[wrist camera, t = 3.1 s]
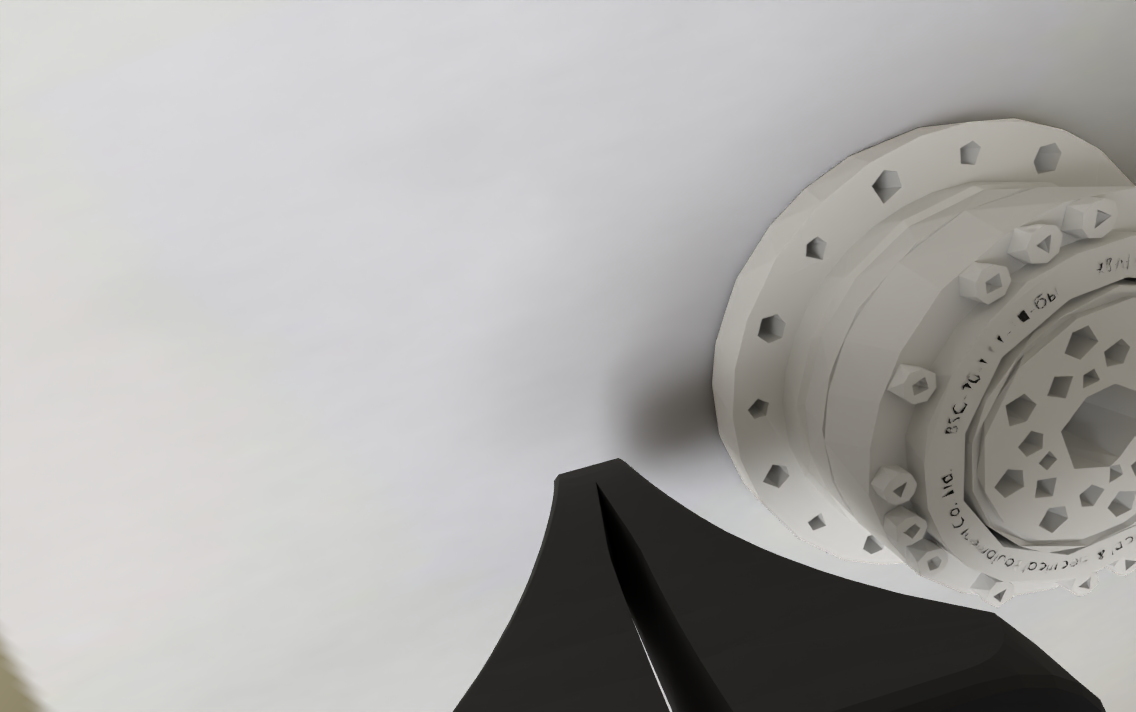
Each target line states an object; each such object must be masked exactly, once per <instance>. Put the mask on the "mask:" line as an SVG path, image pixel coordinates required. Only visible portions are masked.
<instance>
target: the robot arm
mask: <svg viewBox="0 0 1136 712" xmlns="http://www.w3.org/2000/svg"><path fill="white" fill-rule="evenodd" d="M633 621H634V622H633ZM634 623H635V624H634ZM635 626H636V627H635ZM636 628H637V630H638V632H637V630H636ZM638 633H639V635H640V637H641V640H642V642H643V644H644V647H645V649H646V651H647V653H648V656H649V658H650V660H651V663H652V665H653V667H654V670H655V672H656V674H657V676H658V679H659V681H660V683H661V686H662V688H663V690H664V693H665V695H666V697H667V700H668V702H669V704H670V706H671V709H672V712H1106V711H1105V709H1104V707H1103V705H1102V703H1101V700H1100V699H1099V698H1098V697H1096V696H1095V695H1094V694H1093V693H1092V692H1090V691H1089V690H1088V689H1087V688H1086V687H1084V686H1083V685H1082V684H1081V683H1080V682H1078V681H1077V680H1076V679H1075V678H1074V677H1073V676H1071V675H1070V674H1069V673H1068V672H1067V671H1066V670H1065V669H1063V668H1062V667H1061V666H1060V665H1059V664H1058V663H1057V662H1055V661H1054V660H1053V659H1052V658H1051V657H1050V656H1049V655H1047V654H1046V653H1045V652H1044V651H1043V650H1042V649H1040V648H1039V647H1038V646H1037V645H1036V644H1034V643H1033V642H1032V641H1031V640H1029V639H1028V638H1027V637H1025V636H1024V635H1023V634H1021V633H1020V632H1019V631H1017V630H1016V629H1015V628H1013V627H1012V626H1011V625H1009V624H1008V623H1007V622H1005V621H1004V620H1003V619H1001V618H1000V617H999V616H997V615H996V614H995V613H992V612H987V611H982V610H977V609H972V608H967V607H963V606H958V605H953V604H948V603H943V602H938V601H933V600H928V599H923V598H919V597H914V596H909V595H904V594H900V593H896V592H892V591H889V590H885V589H881V588H878V587H874V586H870V585H867V584H863V583H859V582H856V581H852V580H849V579H845V578H842V577H839V576H836V575H833V574H829V573H826V572H823V571H820V570H817V569H814V568H812V567H809V566H806V565H803V564H801V563H798V562H795V561H792V560H790V559H787V558H784V557H782V556H779V555H777V554H774V553H772V552H769V551H767V550H765V549H762V548H760V547H758V546H756V545H754V544H751V543H749V542H747V541H745V540H743V539H741V538H739V537H736V536H734V535H732V534H730V533H728V532H726V531H724V530H722V529H721V528H719V527H717V526H715V525H714V524H712V523H710V522H708V521H707V520H705V519H703V518H702V517H700V516H698V515H697V514H695V513H693V512H692V511H690V510H689V509H687V508H686V507H684V506H683V505H681V504H680V503H678V502H677V501H675V500H674V499H672V498H671V497H669V496H668V495H667V494H665V493H664V492H662V491H661V490H659V489H658V488H657V487H655V486H654V485H653V484H651V483H650V482H649V481H648V480H646V479H645V478H644V477H642V476H641V475H640V474H639V473H638V472H636V471H635V470H634V469H633V468H632V467H630V466H629V465H628V464H627V463H626V462H624V461H623V460H621V459H619V458H617V459H614V460H610V461H606V462H603V463H599V464H595V465H592V466H588V467H585V468H581V469H577V470H574V471H570V472H566V473H563V474H559V475H558V476H557V478H556V479H555V481H554V496H553V502H552V507H551V512H550V516H549V520H548V524H547V528H546V531H545V535H544V538H543V542H542V545H541V548H540V551H539V554H538V556H537V559H536V562H535V565H534V567H533V570H532V573H531V576H530V578H529V581H528V583H527V585H526V588H525V590H524V592H523V595H522V597H521V599H520V601H519V603H518V605H517V607H516V609H515V611H514V613H513V615H512V617H511V620H510V621H509V623H508V625H507V627H506V629H505V631H504V632H503V634H502V636H501V638H500V639H499V641H498V643H497V645H496V647H495V648H494V650H493V652H492V654H491V655H490V657H489V659H488V660H487V662H486V664H485V665H484V667H483V668H482V670H481V672H480V673H479V675H478V676H477V678H476V679H475V681H474V682H473V684H472V685H471V686H470V688H469V689H468V691H467V692H466V694H465V695H464V696H463V698H462V699H461V701H460V702H459V704H458V705H457V706H456V708H455V709H454V711H453V712H670V711H669V709H668V706H667V704H666V702H665V699H664V697H663V694H662V692H661V690H660V687H659V685H658V682H657V680H656V678H655V675H654V673H653V670H652V668H651V665H650V663H649V660H648V658H647V655H646V652H645V650H644V647H643V645H642V642H641V640H640V637H639V635H638Z"/></svg>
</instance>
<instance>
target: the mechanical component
mask: <svg viewBox="0 0 1136 712" xmlns="http://www.w3.org/2000/svg"><path fill="white" fill-rule="evenodd" d="M712 388H713V395H714V402H715V409H716V416H717V422H718V429H719V436H720V438H721V440H722V442H723V444H724V446H725V448H726V450H727V452H728V454H729V455H730V457H731V459H732V461H733V463H734V465H735V467H736V469H737V471H738V473H739V475H740V477H741V479H742V481H743V483H744V484H745V485H746V486H747V487H748V489H749V490H750V491H751V492H752V493H753V494H754V495H755V496H756V497H757V499H758V500H759V501H760V502H761V503H762V504H763V505H764V506H765V507H766V508H767V509H768V510H769V511H770V512H771V513H772V514H773V515H774V516H775V517H776V518H777V519H778V520H779V521H780V522H781V523H782V524H784V525H785V526H786V527H787V528H788V529H789V530H790V531H791V532H792V533H793V534H794V535H795V536H796V537H797V538H798V539H800V540H802V541H804V542H807V543H809V544H811V545H813V546H815V547H817V548H819V549H821V550H823V551H825V552H828V553H830V554H832V555H834V556H836V557H838V558H840V559H842V560H845V561H854V562H863V563H872V564H881V565H887V564H899V563H906V564H907V565H908V566H909V567H910V568H911V569H913V570H914V571H915V572H916V573H917V574H918V575H920V576H922V577H925V578H927V579H929V580H932V581H934V582H937V583H939V584H941V585H944V586H946V587H948V588H951V589H953V590H956V591H958V592H960V593H968V594H977V595H978V596H979V597H980V598H981V599H982V600H983V601H985V602H986V603H988V604H990V605H992V606H994V607H996V608H999V607H1000V606H1002V605H1003V604H1004V603H1006V602H1007V601H1009V600H1010V599H1012V598H1013V596H1016V595H1022V594H1028V593H1034V592H1039V591H1045V590H1051V589H1054V588H1057V587H1059V586H1062V587H1063V588H1065V589H1066V590H1068V591H1070V592H1071V593H1073V594H1075V595H1076V596H1082V595H1086V594H1089V593H1090V592H1091V591H1092V590H1093V588H1094V587H1095V586H1096V585H1097V584H1098V583H1099V578H1098V573H1097V572H1098V571H1100V570H1101V569H1103V568H1105V567H1107V568H1108V569H1110V570H1111V571H1113V572H1114V573H1116V574H1117V575H1122V576H1127V575H1128V574H1130V573H1132V572H1134V571H1135V570H1136V186H1135V185H1134V184H1133V183H1132V182H1131V181H1130V180H1129V179H1128V178H1127V177H1126V176H1125V175H1124V174H1123V172H1122V171H1121V170H1120V169H1119V168H1118V167H1117V166H1116V165H1115V164H1114V163H1113V162H1112V161H1111V160H1110V159H1109V158H1108V157H1107V156H1106V155H1105V154H1104V153H1103V152H1102V151H1101V150H1100V149H1099V148H1097V147H1095V146H1093V145H1091V144H1089V143H1088V142H1086V141H1084V140H1082V139H1080V138H1078V137H1077V136H1075V135H1073V134H1071V133H1069V132H1067V131H1066V130H1064V129H1059V128H1055V127H1051V126H1047V125H1042V124H1038V123H1034V122H1030V121H1025V120H1021V119H1017V118H1011V119H998V120H986V121H973V122H963V123H955V124H946V125H938V126H929V127H921V128H917V129H914V130H912V131H909V132H907V133H905V134H902V135H900V136H897V137H895V138H892V139H890V140H888V141H885V142H883V143H880V144H878V145H875V146H873V147H871V148H868V149H866V150H863V151H861V152H858V153H856V154H854V155H851V156H849V157H848V158H846V159H845V160H844V161H842V162H841V163H840V164H838V165H837V166H835V167H834V168H833V169H831V170H830V171H828V172H827V173H826V174H824V175H823V176H822V177H820V178H819V179H817V180H816V181H815V182H813V183H812V184H811V185H809V186H808V187H806V188H805V189H804V190H803V191H802V192H801V193H800V194H799V195H798V196H797V198H796V199H795V200H794V201H793V202H792V203H791V204H790V205H789V206H788V207H787V208H786V209H785V210H784V211H783V212H782V213H781V214H780V215H779V216H778V218H777V219H776V220H775V221H774V222H773V223H772V224H771V225H770V226H769V228H768V229H767V231H766V232H765V234H764V236H763V237H762V239H761V240H760V242H759V244H758V245H757V247H756V248H755V250H754V251H753V253H752V255H751V256H750V258H749V259H748V261H747V263H746V264H745V266H744V267H743V269H742V271H741V272H740V274H739V275H738V277H737V279H736V281H735V284H734V287H733V290H732V293H731V296H730V299H729V302H728V305H727V308H726V311H725V314H724V317H723V320H722V323H721V327H720V330H719V333H718V337H717V340H716V343H715V355H714V367H713V378H712Z"/></svg>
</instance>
